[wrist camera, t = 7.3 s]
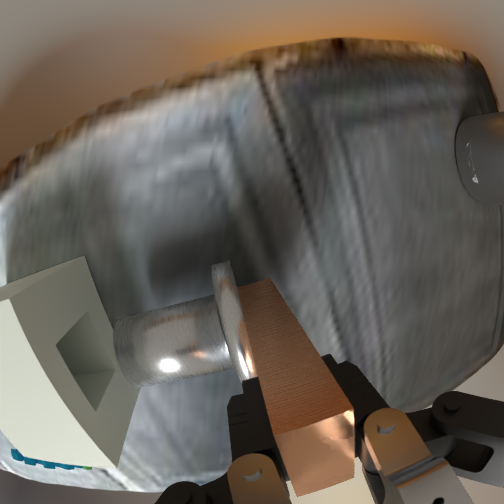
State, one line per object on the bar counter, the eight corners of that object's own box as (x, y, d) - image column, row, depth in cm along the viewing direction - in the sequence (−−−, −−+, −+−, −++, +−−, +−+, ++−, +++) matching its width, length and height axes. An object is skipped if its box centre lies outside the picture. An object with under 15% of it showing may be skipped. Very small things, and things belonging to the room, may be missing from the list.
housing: (84, 255, 18) (9, 298, 9) (141, 385, 21) (116, 468, 12) (6, 284, 18) (-61, 323, 9) (60, 393, 20) (23, 456, 11)
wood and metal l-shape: (255, 240, 19) (350, 352, 5) (280, 338, 20) (353, 495, 7) (125, 276, 18) (9, 408, 5) (163, 367, 20) (131, 526, 6)
